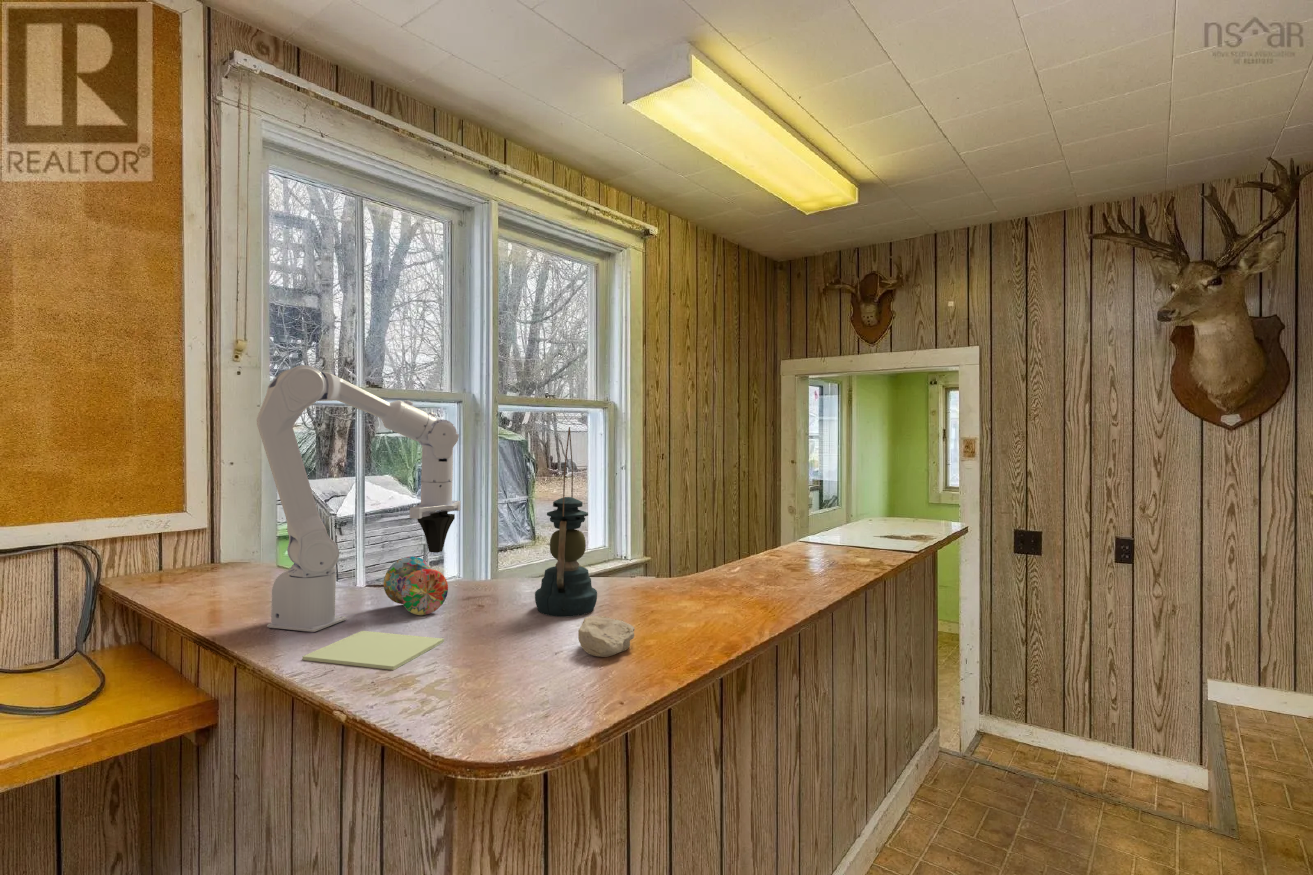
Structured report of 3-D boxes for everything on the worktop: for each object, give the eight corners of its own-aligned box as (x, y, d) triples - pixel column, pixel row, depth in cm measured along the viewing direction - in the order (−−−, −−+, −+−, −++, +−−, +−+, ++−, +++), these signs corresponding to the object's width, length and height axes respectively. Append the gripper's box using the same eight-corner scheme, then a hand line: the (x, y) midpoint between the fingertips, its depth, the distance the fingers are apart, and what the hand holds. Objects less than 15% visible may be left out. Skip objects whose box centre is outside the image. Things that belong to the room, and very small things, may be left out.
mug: (422, 558, 117) (403, 547, 125) (389, 604, 113) (372, 589, 122) (472, 589, 123) (451, 577, 131) (443, 634, 120) (423, 618, 128)
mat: (302, 659, 94) (302, 656, 94) (362, 633, 107) (362, 630, 107) (393, 670, 91) (393, 666, 91) (444, 641, 103) (444, 638, 103)
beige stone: (641, 623, 106) (630, 614, 97) (633, 665, 103) (621, 660, 94) (590, 614, 108) (574, 605, 98) (581, 655, 105) (564, 649, 96)
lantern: (592, 620, 117) (596, 427, 117) (527, 619, 117) (531, 425, 117) (600, 600, 131) (603, 428, 131) (542, 599, 131) (545, 427, 131)
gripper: (434, 484, 117) (433, 559, 117) (474, 479, 131) (473, 546, 131) (400, 483, 118) (398, 557, 118) (443, 478, 133) (441, 545, 133)
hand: (435, 551), depth 125 cm, fingers closed
